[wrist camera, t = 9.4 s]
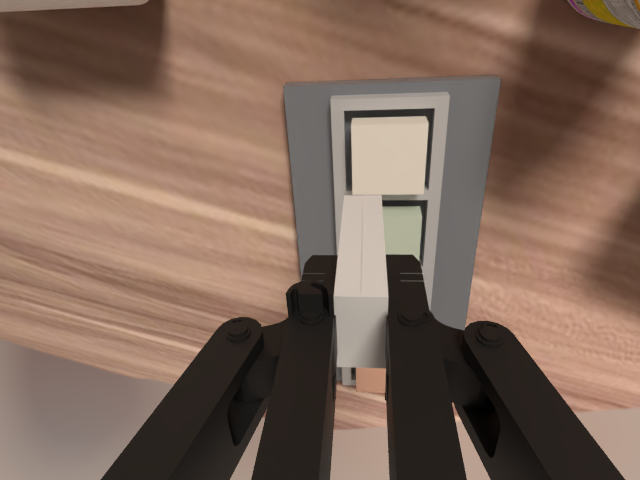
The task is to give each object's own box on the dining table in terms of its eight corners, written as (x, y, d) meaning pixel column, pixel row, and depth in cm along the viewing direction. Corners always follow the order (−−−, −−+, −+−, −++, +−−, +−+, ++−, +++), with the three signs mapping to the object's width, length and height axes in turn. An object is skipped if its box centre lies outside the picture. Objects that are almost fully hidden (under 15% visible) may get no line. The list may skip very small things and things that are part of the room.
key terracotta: (357, 376, 38) (356, 391, 37) (356, 338, 36) (355, 352, 35) (408, 378, 38) (409, 394, 36) (411, 340, 35) (412, 355, 34)
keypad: (312, 369, 41) (309, 388, 40) (286, 82, 28) (280, 90, 26) (454, 376, 40) (458, 395, 38) (496, 74, 27) (505, 82, 25)
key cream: (353, 184, 29) (352, 194, 28) (352, 118, 27) (351, 125, 25) (421, 184, 29) (423, 194, 27) (425, 116, 26) (428, 123, 25)
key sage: (355, 260, 32) (354, 273, 31) (353, 206, 30) (352, 217, 29) (416, 261, 32) (418, 274, 30) (420, 206, 29) (422, 217, 28)
